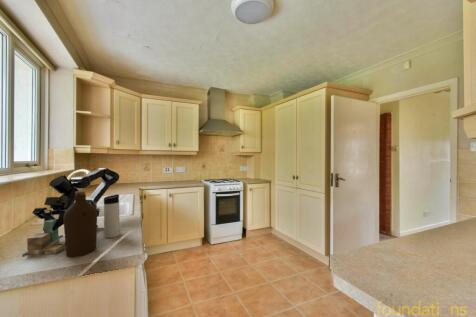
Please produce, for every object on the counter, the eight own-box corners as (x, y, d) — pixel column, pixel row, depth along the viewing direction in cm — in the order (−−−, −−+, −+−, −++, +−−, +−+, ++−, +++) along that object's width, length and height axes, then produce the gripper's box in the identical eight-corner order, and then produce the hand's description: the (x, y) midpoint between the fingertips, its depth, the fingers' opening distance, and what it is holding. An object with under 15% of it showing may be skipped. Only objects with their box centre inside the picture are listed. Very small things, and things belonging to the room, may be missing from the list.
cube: (50, 244, 84) (50, 232, 84) (42, 249, 79) (41, 237, 79) (36, 245, 83) (36, 233, 83) (27, 250, 78) (27, 238, 78)
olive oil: (104, 248, 84) (103, 189, 84) (80, 262, 74) (79, 194, 74) (82, 247, 86) (81, 189, 86) (56, 259, 76) (54, 193, 75)
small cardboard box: (62, 248, 83) (62, 245, 83) (56, 252, 79) (56, 249, 79) (51, 249, 82) (51, 245, 82) (44, 253, 79) (44, 249, 79)
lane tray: (88, 237, 97) (88, 233, 97) (55, 256, 78) (55, 252, 78) (61, 238, 96) (61, 234, 96) (22, 258, 77) (22, 253, 77)
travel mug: (123, 235, 98) (122, 194, 98) (109, 240, 92) (108, 197, 92) (115, 233, 101) (114, 193, 101) (101, 238, 95) (100, 196, 95)
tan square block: (73, 242, 88) (73, 239, 88) (66, 246, 84) (66, 243, 84) (63, 243, 88) (63, 239, 88) (55, 247, 84) (55, 243, 84)
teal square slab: (59, 242, 89) (59, 219, 88) (38, 253, 79) (37, 227, 78) (49, 243, 88) (49, 219, 88) (27, 254, 78) (26, 227, 78)
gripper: (35, 189, 90) (10, 222, 79) (79, 188, 91) (60, 220, 80) (50, 203, 98) (29, 234, 87) (91, 202, 99) (75, 232, 88)
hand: (48, 230), depth 85 cm, fingers closed on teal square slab, 3 cm apart
